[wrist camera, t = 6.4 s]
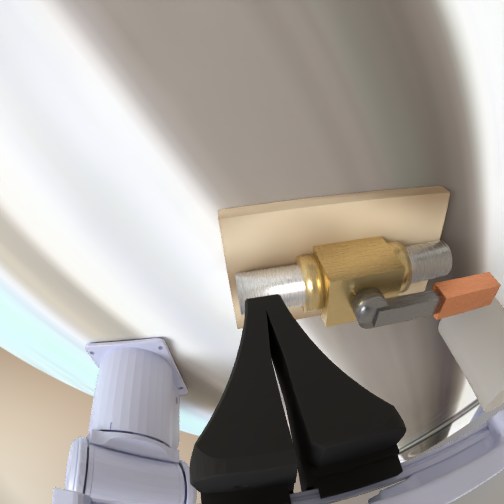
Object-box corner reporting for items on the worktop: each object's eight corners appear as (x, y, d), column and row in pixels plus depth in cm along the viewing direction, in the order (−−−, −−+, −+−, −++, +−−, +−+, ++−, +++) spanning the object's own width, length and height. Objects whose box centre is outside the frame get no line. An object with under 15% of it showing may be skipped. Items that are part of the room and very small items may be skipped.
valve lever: (348, 315, 20) (358, 338, 18) (354, 290, 19) (366, 313, 17) (476, 289, 21) (489, 305, 19) (486, 267, 20) (501, 283, 18)
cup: (454, 340, 35) (494, 411, 25) (427, 328, 32) (474, 412, 22) (496, 297, 31) (545, 365, 22) (476, 277, 28) (537, 357, 18)
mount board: (418, 283, 27) (424, 292, 26) (236, 318, 26) (237, 328, 25) (441, 185, 21) (450, 192, 20) (217, 210, 20) (218, 219, 19)
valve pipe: (425, 263, 25) (450, 296, 21) (238, 296, 24) (245, 341, 20) (434, 223, 22) (465, 255, 19) (232, 253, 22) (237, 297, 18)
